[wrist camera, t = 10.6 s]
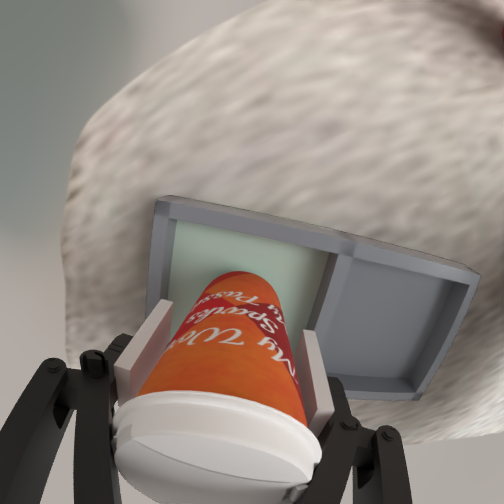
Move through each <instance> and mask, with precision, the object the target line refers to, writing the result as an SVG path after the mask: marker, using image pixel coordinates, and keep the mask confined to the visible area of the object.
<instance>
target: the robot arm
mask: <svg viewBox="0 0 504 504" xmlns="http://www.w3.org/2000/svg"><path fill="white" fill-rule="evenodd" d="M172 310H173V302H172V301H168V300H164V299H161V300H160V301H159V303H158V304H157V305H156V307H155V308H154V309H153V311H152V312H151V314H150V315H149V316H148V318H147V319H146V320H145V322H144V323H143V324H142V326H141V327H140V329H139V330H138V331H137V333H136V334H135V336H134V337H133V336H130V335H127V334H121V335H119V336H117V337H116V338H115V339H114V340H113V341H112V343H111V344H110V345H109V346H108V348H107V349H106V350H105V351H104V353H103V352H102V351H99V350H88V351H85V352H83V353H82V354H81V356H80V364H81V370H78V369H71V368H67V367H66V364H65V362H64V361H63V360H61V359H59V358H49V359H46V360H44V361H43V363H42V364H41V365H40V366H39V368H38V369H37V371H36V373H35V374H34V376H33V377H32V379H31V380H30V382H29V384H28V385H27V386H26V388H25V390H24V391H23V393H22V395H21V396H20V398H19V399H18V401H17V403H16V404H15V406H14V408H13V410H12V411H11V413H10V415H9V416H8V418H7V420H6V422H5V424H4V425H3V427H2V429H1V431H0V504H40V501H41V498H42V494H43V491H44V488H45V485H46V482H47V479H48V476H49V473H50V470H51V467H52V465H53V462H54V459H55V456H56V453H57V451H58V448H59V446H60V443H61V441H62V438H63V436H64V433H65V431H66V428H67V426H68V423H69V421H70V418H71V416H72V414H73V412H74V410H77V414H76V426H75V441H74V472H73V474H74V477H73V478H74V504H122V501H121V494H120V486H119V477H118V469H117V466H116V464H115V461H114V453H113V449H112V445H111V441H112V439H113V437H112V431H111V424H112V420H113V417H114V415H115V410H114V404H115V402H116V401H117V400H118V406H119V407H121V406H122V405H123V404H125V403H126V402H127V401H129V400H131V399H134V398H136V396H137V394H138V393H139V391H140V390H141V388H142V386H143V385H144V383H145V381H146V380H147V378H148V377H149V375H150V373H151V372H152V370H153V369H154V367H155V365H156V364H157V362H158V361H159V359H160V357H161V355H162V353H163V351H164V350H165V348H166V346H167V344H168V342H169V340H170V333H171V321H172ZM293 360H294V364H295V368H296V372H297V376H298V381H299V385H300V389H301V393H302V397H303V402H304V408H305V413H306V419H307V424H308V429H309V430H310V431H311V432H312V433H313V434H314V436H315V437H316V439H317V440H318V441H319V444H320V447H321V450H322V459H320V462H319V464H318V465H317V466H316V468H315V469H314V470H313V476H312V479H311V480H310V481H309V482H308V483H307V484H306V485H308V487H307V489H306V490H305V491H304V493H303V494H302V495H301V496H300V497H299V499H298V500H297V501H296V502H293V504H340V502H341V499H342V496H343V493H344V490H345V487H346V483H347V480H348V477H349V474H350V470H351V467H352V466H353V504H412V497H411V490H410V483H409V477H408V471H407V466H406V460H405V456H404V450H403V445H402V440H401V436H400V433H399V432H398V431H397V430H396V429H395V428H393V427H392V426H388V425H385V426H381V427H379V428H378V429H377V431H375V430H371V429H367V428H364V427H362V426H361V424H360V422H359V421H358V420H357V419H356V418H355V417H353V416H352V415H351V411H350V408H349V404H348V401H347V397H346V394H345V392H344V391H345V390H344V387H343V384H342V383H341V381H340V380H339V379H338V378H337V377H330V376H326V372H325V368H324V364H323V360H322V356H321V352H320V348H319V344H318V340H317V337H316V333H315V331H311V330H305V329H303V331H302V334H301V337H300V340H299V343H298V345H297V348H296V351H295V354H294V357H293Z"/></svg>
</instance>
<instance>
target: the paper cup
mask: <svg viewBox="0 0 504 504" xmlns="http://www.w3.org/2000/svg"><path fill="white" fill-rule="evenodd" d="M111 431H112V437H113V439H112V441H111V445H112V449H113V453H114V461H115V464H116V466H117V469H118V470H119V472H120V473H121V475H122V476H123V478H124V479H125V480H126V481H127V482H128V483H129V484H130V485H131V486H133V487H134V488H135V489H137V490H138V491H139V492H141V493H142V494H144V495H145V496H147V497H149V498H151V499H152V500H154V501H156V502H158V503H160V504H293V502H296V501H297V500H298V499H299V497H300V496H301V495H302V494H303V493H304V491H305V490H306V489H307V487H308V485H306V484H307V483H308V482H309V481H310V480H311V479H312V476H313V470H314V469H315V468H316V466H317V465H318V464H319V462H320V459H322V450H321V447H320V444H319V441H318V440H317V439H316V437H315V436H314V434H313V433H312V432H311V431H310V430H309V429H308V424H307V419H306V413H305V408H304V402H303V397H302V393H301V389H300V385H299V381H298V376H297V372H296V368H295V364H294V360H293V356H292V351H291V347H290V342H289V338H288V333H287V329H286V325H285V320H284V316H283V312H282V308H281V305H280V301H279V298H278V296H277V294H276V292H275V290H274V289H273V287H272V286H271V285H270V284H269V283H268V282H267V281H266V280H265V279H263V278H262V277H260V276H258V275H256V274H253V273H250V272H245V271H233V272H228V273H225V274H222V275H220V276H218V277H217V278H215V279H214V280H213V281H212V282H211V283H210V284H209V285H208V286H207V287H206V288H205V290H204V291H203V292H202V294H201V295H200V297H199V298H198V300H197V301H196V303H195V304H194V306H193V307H192V309H191V310H190V312H189V313H188V315H187V316H186V318H185V320H184V321H183V323H182V324H181V326H180V327H179V329H178V330H177V332H176V334H175V335H174V337H173V338H172V340H171V341H170V343H169V345H168V346H167V348H166V349H165V351H164V353H163V354H162V356H161V357H160V359H159V361H158V362H157V364H156V365H155V367H154V369H153V370H152V372H151V373H150V375H149V377H148V378H147V380H146V381H145V383H144V385H143V386H142V388H141V390H140V391H139V393H138V394H137V396H136V398H134V399H131V400H129V401H127V402H126V403H125V404H123V405H122V406H121V407H120V408H119V409H118V410H117V412H116V413H115V415H114V417H113V420H112V424H111Z"/></svg>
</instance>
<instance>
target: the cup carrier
mask: <svg viewBox="0 0 504 504" xmlns="http://www.w3.org/2000/svg"><path fill="white" fill-rule="evenodd" d="M233 271H245V272H250V273H253V274H256V275H258V276H260V277H262V278H263V279H265V280H266V281H267V282H268V283H269V284H270V285H271V286H272V287H273V289H274V290H275V292H276V294H277V296H278V298H279V301H280V305H281V308H282V312H283V316H284V320H285V325H286V329H287V333H288V338H289V342H290V347H291V351H292V356H293V357H294V354H295V351H296V348H297V345H298V343H299V340H300V337H301V334H302V331H303V329H305V330H311V331H315V333H316V337H317V340H318V344H319V348H320V352H321V356H322V360H323V364H324V368H325V372H326V376H330V377H337V378H338V379H339V380H340V381H341V383H342V384H343V387H344V390H345V391H344V392H345V394H346V397H347V399H359V400H419V399H420V397H421V396H422V394H423V393H424V391H425V389H426V388H427V386H428V385H429V383H430V381H431V380H432V378H433V376H434V375H435V373H436V371H437V370H438V368H439V366H440V364H441V363H442V361H443V359H444V357H445V355H446V353H447V352H448V350H449V348H450V346H451V344H452V342H453V340H454V338H455V336H456V334H457V332H458V330H459V328H460V326H461V324H462V321H463V319H464V317H465V315H466V312H467V310H468V308H469V306H470V303H471V301H472V298H473V296H474V293H475V291H476V288H477V286H478V283H479V280H480V278H481V275H480V274H478V273H477V272H475V271H474V270H472V269H470V268H469V267H467V266H465V265H464V264H461V263H457V262H454V261H450V260H447V259H444V258H440V257H437V256H433V255H429V254H426V253H422V252H419V251H415V250H411V249H408V248H404V247H400V246H397V245H393V244H389V243H385V242H381V241H377V240H374V239H370V238H366V237H362V236H358V235H354V234H350V233H346V232H342V231H337V230H333V229H329V228H325V227H321V226H316V225H312V224H308V223H303V222H299V221H295V220H290V219H286V218H281V217H277V216H272V215H268V214H263V213H258V212H253V211H249V210H244V209H239V208H234V207H229V206H224V205H219V204H214V203H209V202H204V201H199V200H194V199H188V198H183V197H177V196H172V195H169V196H166V197H163V198H160V199H157V200H156V204H155V212H154V219H153V228H152V237H151V246H150V256H149V268H148V281H147V296H146V317H145V320H146V319H147V318H148V316H149V315H150V314H151V312H152V311H153V309H154V308H155V307H156V305H157V304H158V303H159V301H160V300H161V299H164V300H168V301H172V302H173V310H172V321H171V333H170V340H169V342H168V344H167V346H168V345H169V343H170V341H171V340H172V338H173V337H174V335H175V334H176V332H177V330H178V329H179V327H180V326H181V324H182V323H183V321H184V320H185V318H186V316H187V315H188V313H189V312H190V310H191V309H192V307H193V306H194V304H195V303H196V301H197V300H198V298H199V297H200V295H201V294H202V292H203V291H204V290H205V288H206V287H207V286H208V285H209V284H210V283H211V282H212V281H213V280H214V279H215V278H217V277H218V276H220V275H222V274H225V273H228V272H233ZM167 346H166V348H167ZM166 348H165V349H166ZM164 351H165V350H164ZM164 351H163V353H164ZM163 353H162V354H163ZM161 356H162V355H161Z"/></svg>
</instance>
